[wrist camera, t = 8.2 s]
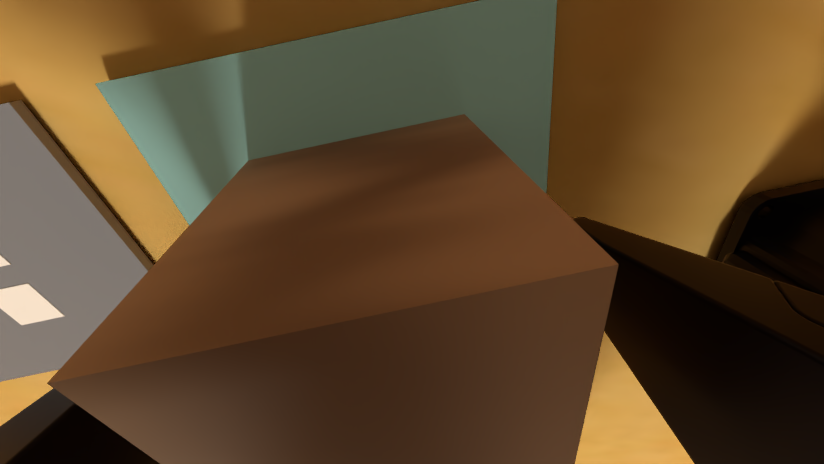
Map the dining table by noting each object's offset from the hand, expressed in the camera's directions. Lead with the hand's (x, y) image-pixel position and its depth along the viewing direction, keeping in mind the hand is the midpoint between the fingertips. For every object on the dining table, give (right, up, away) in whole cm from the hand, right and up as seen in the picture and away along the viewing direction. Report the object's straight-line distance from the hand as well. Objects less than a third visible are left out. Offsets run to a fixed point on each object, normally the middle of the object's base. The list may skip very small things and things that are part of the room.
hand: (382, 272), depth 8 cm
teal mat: (0, +1, +2) cm, 2 cm away
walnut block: (0, +1, +2) cm, 2 cm away
